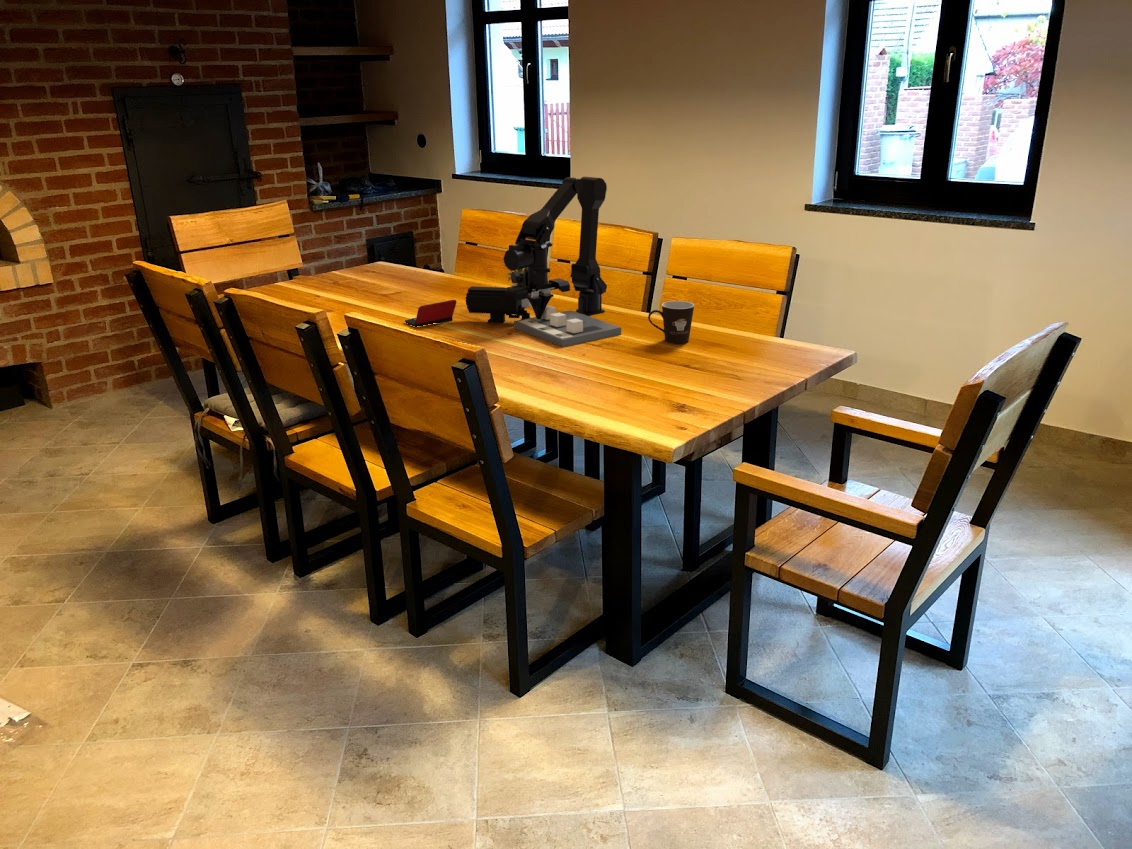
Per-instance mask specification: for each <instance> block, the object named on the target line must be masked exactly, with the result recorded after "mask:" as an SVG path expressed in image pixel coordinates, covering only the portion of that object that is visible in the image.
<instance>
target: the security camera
mask: <svg viewBox="0 0 1132 849" xmlns="http://www.w3.org/2000/svg"><path fill="white" fill-rule="evenodd" d="M506 288H507V287H505V286H503V287H502V286H501V287H499V286H498V287H497V286H470V287H469V288H467V293H466V294H465V305H466V309H467V311H468V313H469V314H489V315H490V316H489V319H488V320H487V323H488V324H501V325H503V324H505V323H506V316H508V319H520V320H523V319H528V318H532V317H531V315H530V314H531V313H530V312H528V309H527V310H525V309H526V307H524V308H523V307H522V300H512V299H510V298H507V297H505V290H506ZM520 317H521V318H520Z"/></svg>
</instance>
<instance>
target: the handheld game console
mask: <svg viewBox="0 0 1132 849" xmlns="http://www.w3.org/2000/svg"><path fill="white" fill-rule="evenodd" d="M456 306H457V300H456V299H449V300H446V301H440V302H436V303H435V302H434V303H430V304H424V305H421V306H419V307H418V309H417V313H416V317H414V318H408V319H405V320H404V323H405V322H406V323H408V324H409V325H408V324H407V325H408V326H410V325H412V326H415V327H417V326H423V325H428V324H433V323H440V324H444V323H443V322H445V323H450V322H452V321H453V317H454V312H455V309H456ZM433 325H434V324H433ZM412 326H411V327H412Z"/></svg>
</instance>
